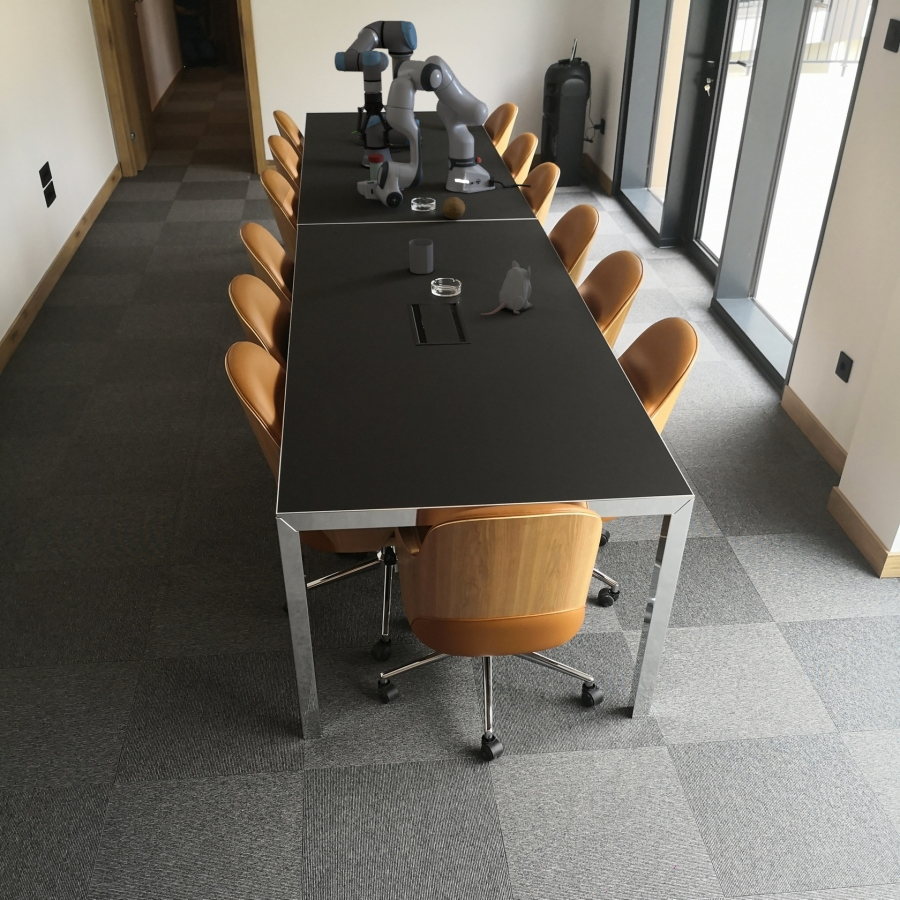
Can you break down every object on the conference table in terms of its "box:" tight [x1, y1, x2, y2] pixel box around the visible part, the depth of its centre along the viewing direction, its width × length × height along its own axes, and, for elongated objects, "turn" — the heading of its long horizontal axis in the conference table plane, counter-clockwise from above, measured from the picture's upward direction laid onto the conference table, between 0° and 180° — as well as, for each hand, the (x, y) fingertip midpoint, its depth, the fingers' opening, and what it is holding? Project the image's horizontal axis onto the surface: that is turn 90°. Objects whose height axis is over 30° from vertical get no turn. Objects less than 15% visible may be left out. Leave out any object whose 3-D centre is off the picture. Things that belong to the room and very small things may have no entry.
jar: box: [369, 162, 383, 181], centre depth 380 cm, size 6×6×17 cm
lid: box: [369, 154, 383, 163], centre depth 375 cm, size 6×6×2 cm
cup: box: [408, 237, 434, 275], centre depth 305 cm, size 8×8×10 cm
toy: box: [481, 259, 533, 316], centre depth 272 cm, size 9×24×15 cm, turn 137°
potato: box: [441, 196, 466, 220], centre depth 355 cm, size 10×14×8 cm
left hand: (375, 147), depth 373 cm, fingers open, 8 cm apart
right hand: (376, 181), depth 381 cm, fingers open, 8 cm apart
